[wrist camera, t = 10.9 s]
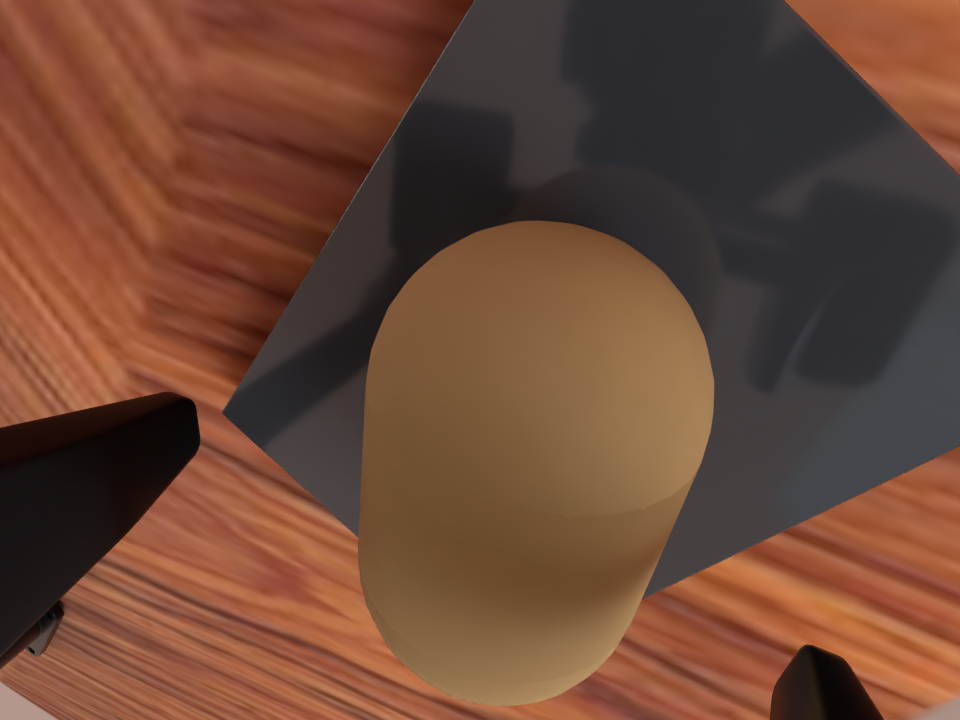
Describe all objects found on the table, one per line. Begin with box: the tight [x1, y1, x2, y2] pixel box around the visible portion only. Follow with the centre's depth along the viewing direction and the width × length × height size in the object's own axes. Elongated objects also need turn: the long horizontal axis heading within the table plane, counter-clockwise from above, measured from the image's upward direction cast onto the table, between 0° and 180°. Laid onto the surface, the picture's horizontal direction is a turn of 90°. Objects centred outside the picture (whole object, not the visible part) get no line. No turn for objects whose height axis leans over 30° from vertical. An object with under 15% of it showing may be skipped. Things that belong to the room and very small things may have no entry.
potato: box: [358, 221, 714, 706], centre depth 9 cm, size 8×5×5 cm, turn 172°
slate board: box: [222, 0, 960, 600], centre depth 12 cm, size 14×10×1 cm
